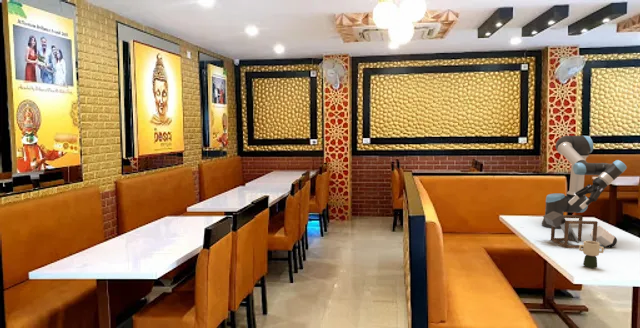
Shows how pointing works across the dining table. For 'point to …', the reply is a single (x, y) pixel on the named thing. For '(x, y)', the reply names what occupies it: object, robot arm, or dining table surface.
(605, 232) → the jar
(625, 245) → the dining table surface
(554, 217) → the trapdoor
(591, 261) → the character mug
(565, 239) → the trapdoor frame
